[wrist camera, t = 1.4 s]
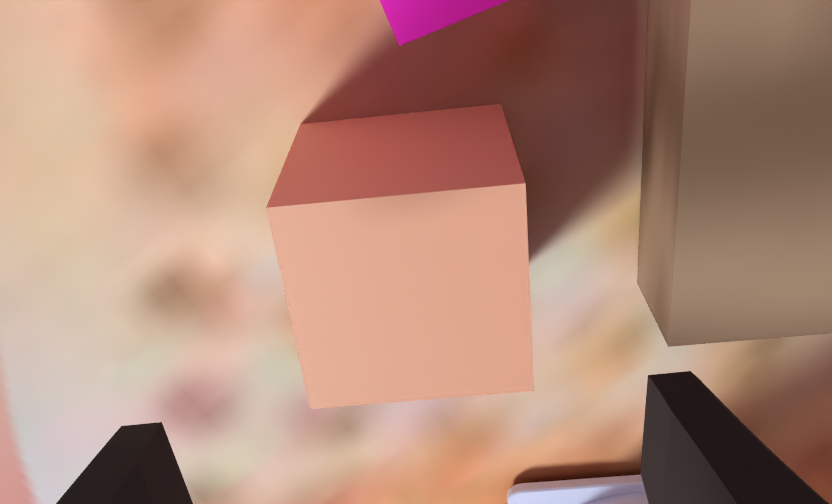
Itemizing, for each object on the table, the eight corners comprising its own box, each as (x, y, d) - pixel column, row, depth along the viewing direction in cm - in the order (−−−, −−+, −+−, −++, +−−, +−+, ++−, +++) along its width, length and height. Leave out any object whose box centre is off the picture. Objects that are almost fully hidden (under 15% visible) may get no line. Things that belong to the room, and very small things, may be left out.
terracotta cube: (509, 276, 21) (533, 391, 17) (331, 292, 22) (310, 409, 17) (500, 102, 19) (525, 183, 14) (301, 122, 19) (266, 207, 15)
